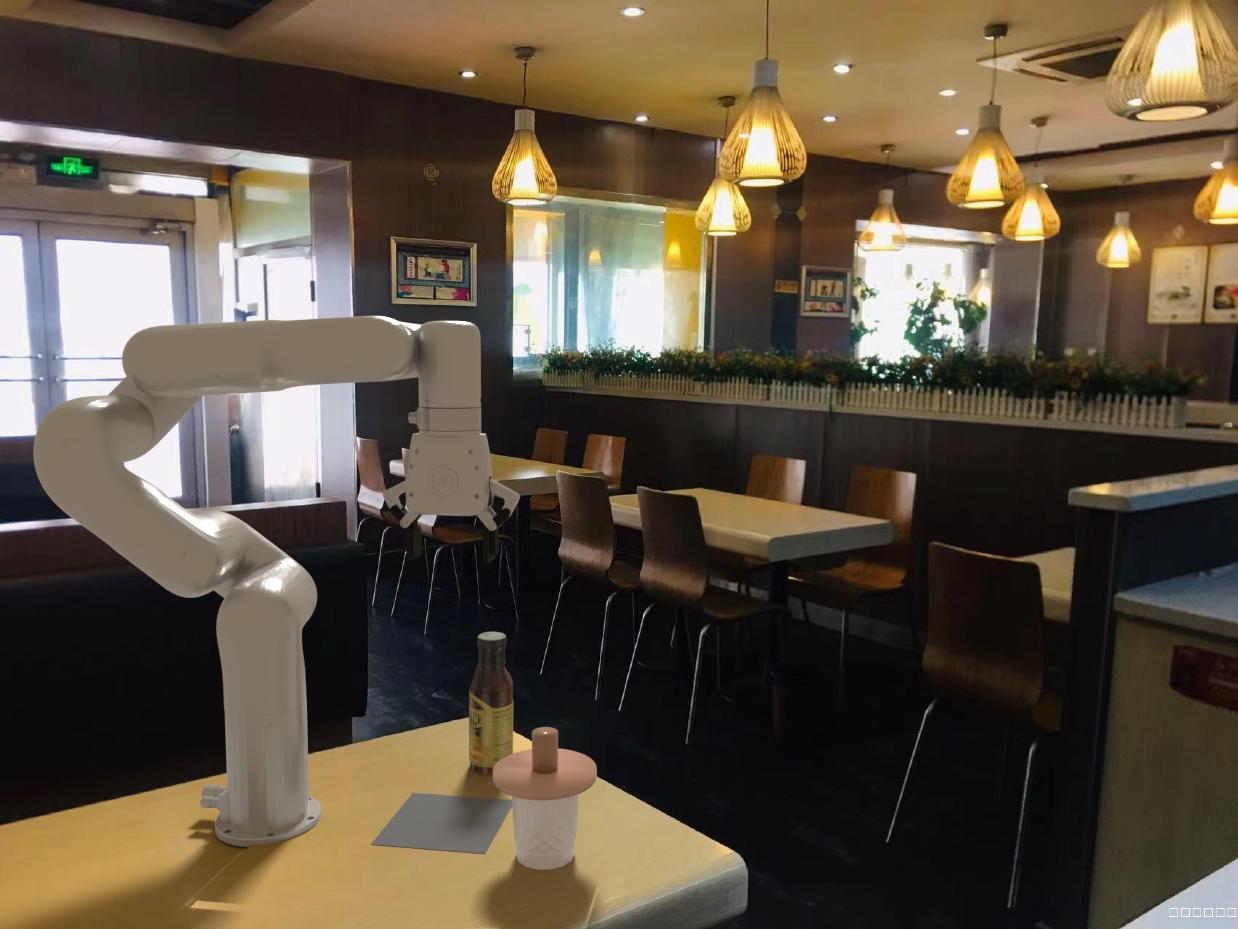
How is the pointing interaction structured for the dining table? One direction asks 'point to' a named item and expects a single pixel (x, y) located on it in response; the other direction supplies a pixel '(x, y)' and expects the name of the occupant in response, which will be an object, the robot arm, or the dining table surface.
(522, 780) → the lid
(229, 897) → the dining table surface
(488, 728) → the sauce bottle
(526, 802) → the white cup
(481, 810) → the mat
